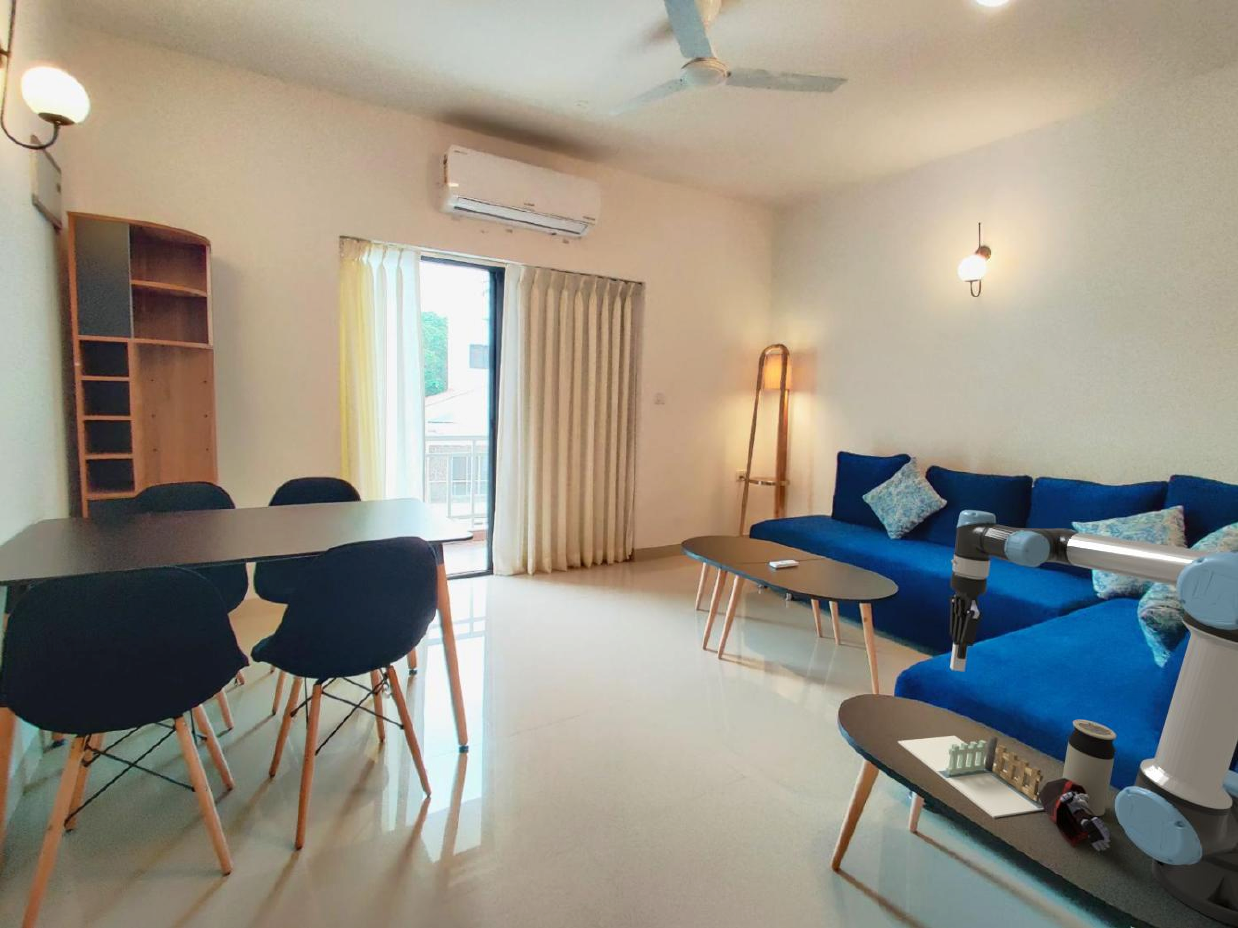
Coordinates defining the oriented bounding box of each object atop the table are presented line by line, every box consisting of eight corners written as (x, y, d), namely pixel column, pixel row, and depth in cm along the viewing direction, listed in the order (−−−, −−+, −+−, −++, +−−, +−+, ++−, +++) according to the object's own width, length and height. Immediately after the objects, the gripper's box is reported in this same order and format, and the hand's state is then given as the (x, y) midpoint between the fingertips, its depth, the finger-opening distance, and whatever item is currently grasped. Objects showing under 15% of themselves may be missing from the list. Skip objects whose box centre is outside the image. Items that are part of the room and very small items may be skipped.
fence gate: (981, 767, 143) (985, 739, 142) (984, 769, 142) (989, 742, 141) (945, 772, 139) (949, 744, 138) (949, 775, 138) (953, 746, 137)
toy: (1095, 793, 116) (1059, 756, 130) (1048, 814, 117) (1018, 776, 132) (1136, 850, 114) (1095, 806, 128) (1088, 871, 116) (1053, 825, 130)
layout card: (1057, 808, 130) (1058, 805, 130) (993, 817, 125) (993, 815, 125) (954, 736, 157) (954, 735, 157) (897, 742, 152) (898, 740, 152)
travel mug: (1109, 821, 127) (1123, 742, 125) (1064, 808, 130) (1077, 731, 129) (1097, 800, 134) (1111, 725, 133) (1055, 788, 138) (1067, 714, 136)
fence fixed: (1039, 804, 131) (1045, 768, 130) (1033, 805, 131) (1039, 769, 130) (987, 768, 144) (992, 734, 143) (982, 768, 143) (987, 735, 143)
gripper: (942, 566, 150) (931, 656, 152) (964, 580, 137) (951, 678, 139) (974, 569, 149) (962, 660, 151) (999, 584, 136) (985, 683, 138)
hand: (957, 669), depth 145 cm, fingers closed
